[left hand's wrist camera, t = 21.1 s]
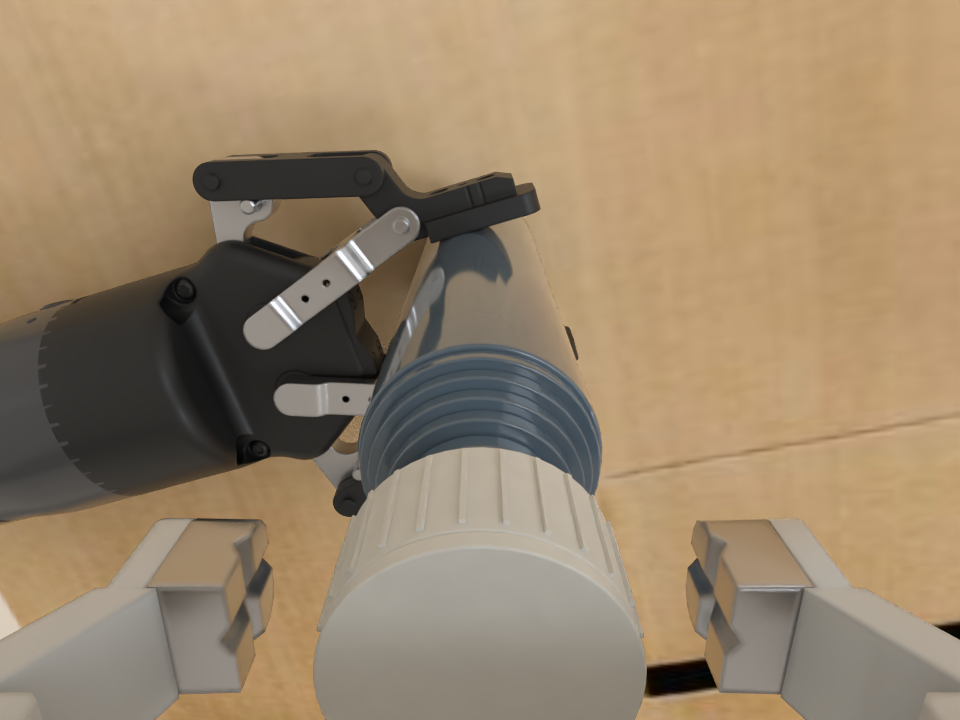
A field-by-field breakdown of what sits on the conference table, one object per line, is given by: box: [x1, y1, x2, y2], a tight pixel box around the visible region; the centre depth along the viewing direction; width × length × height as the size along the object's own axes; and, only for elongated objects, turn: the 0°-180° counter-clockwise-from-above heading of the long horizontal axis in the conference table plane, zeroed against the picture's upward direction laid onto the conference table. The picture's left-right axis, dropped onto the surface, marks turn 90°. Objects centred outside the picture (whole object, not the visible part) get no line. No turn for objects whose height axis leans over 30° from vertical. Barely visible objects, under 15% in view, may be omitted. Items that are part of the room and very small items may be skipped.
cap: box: [313, 447, 647, 720], centre depth 9 cm, size 4×4×2 cm
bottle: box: [358, 217, 602, 497], centre depth 19 cm, size 5×5×23 cm
